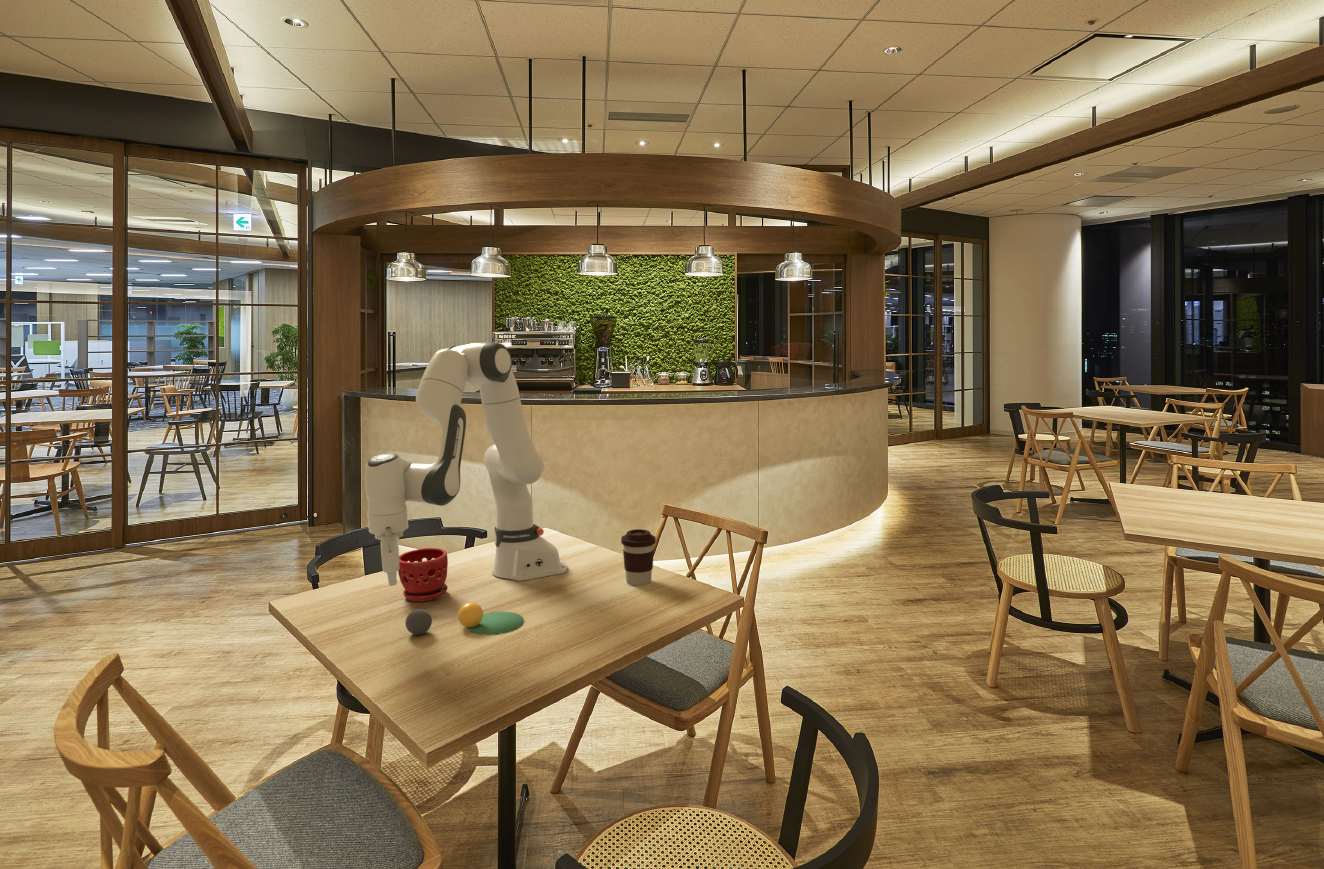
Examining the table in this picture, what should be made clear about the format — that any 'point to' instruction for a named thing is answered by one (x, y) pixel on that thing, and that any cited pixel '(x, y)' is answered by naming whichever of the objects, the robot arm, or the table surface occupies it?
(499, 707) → the table surface
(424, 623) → the dark grey sphere
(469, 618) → the orange ball
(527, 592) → the table surface
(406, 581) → the plant pot
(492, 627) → the green mark
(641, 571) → the coffee cup
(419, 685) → the table surface
